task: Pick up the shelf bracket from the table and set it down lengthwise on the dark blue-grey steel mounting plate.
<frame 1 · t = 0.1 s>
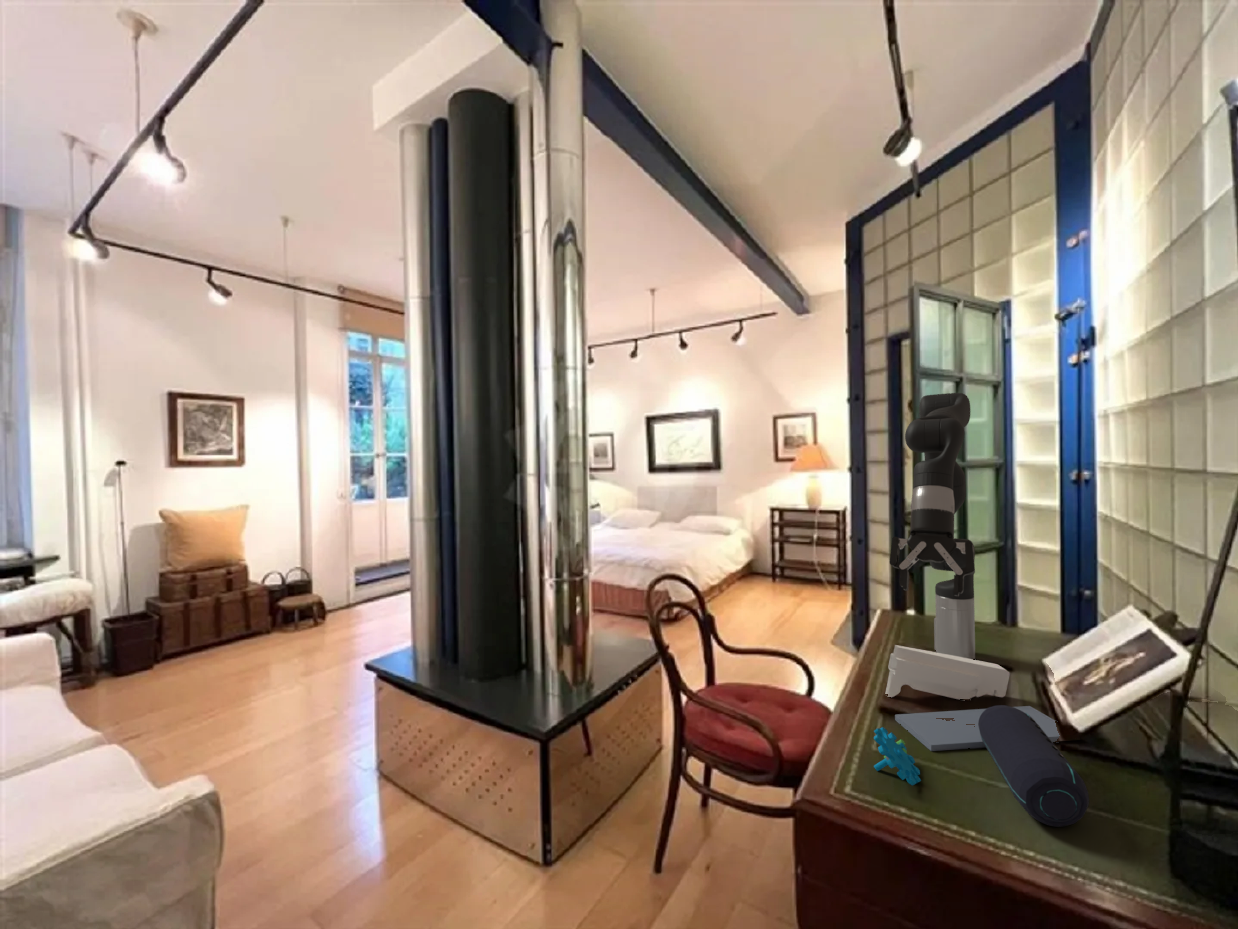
hand: (930, 592, 102), 31 cm above the table, tool tilted 20°, fingers open, 8 cm apart
mounting plate: (983, 730, 110), on the table
portable speaker: (1028, 788, 91), on the table
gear: (897, 775, 96), on the table
shelf bracket: (945, 698, 124), on the table
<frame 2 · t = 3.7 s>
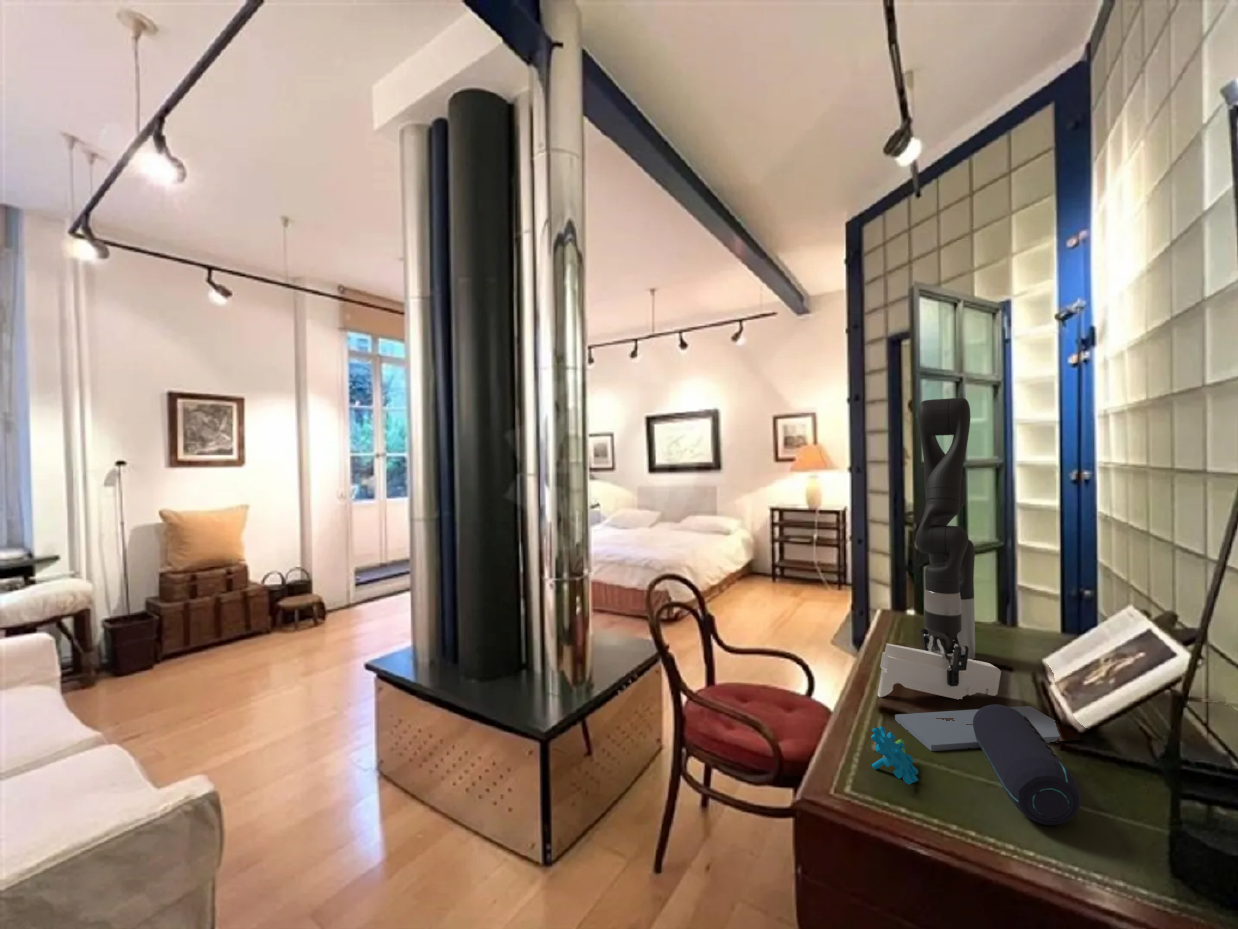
hand: (943, 679, 124), 4 cm above the table, tool pointing down, fingers closed on shelf bracket, 5 cm apart
shelf bracket: (937, 697, 124), on the table, touching gripper
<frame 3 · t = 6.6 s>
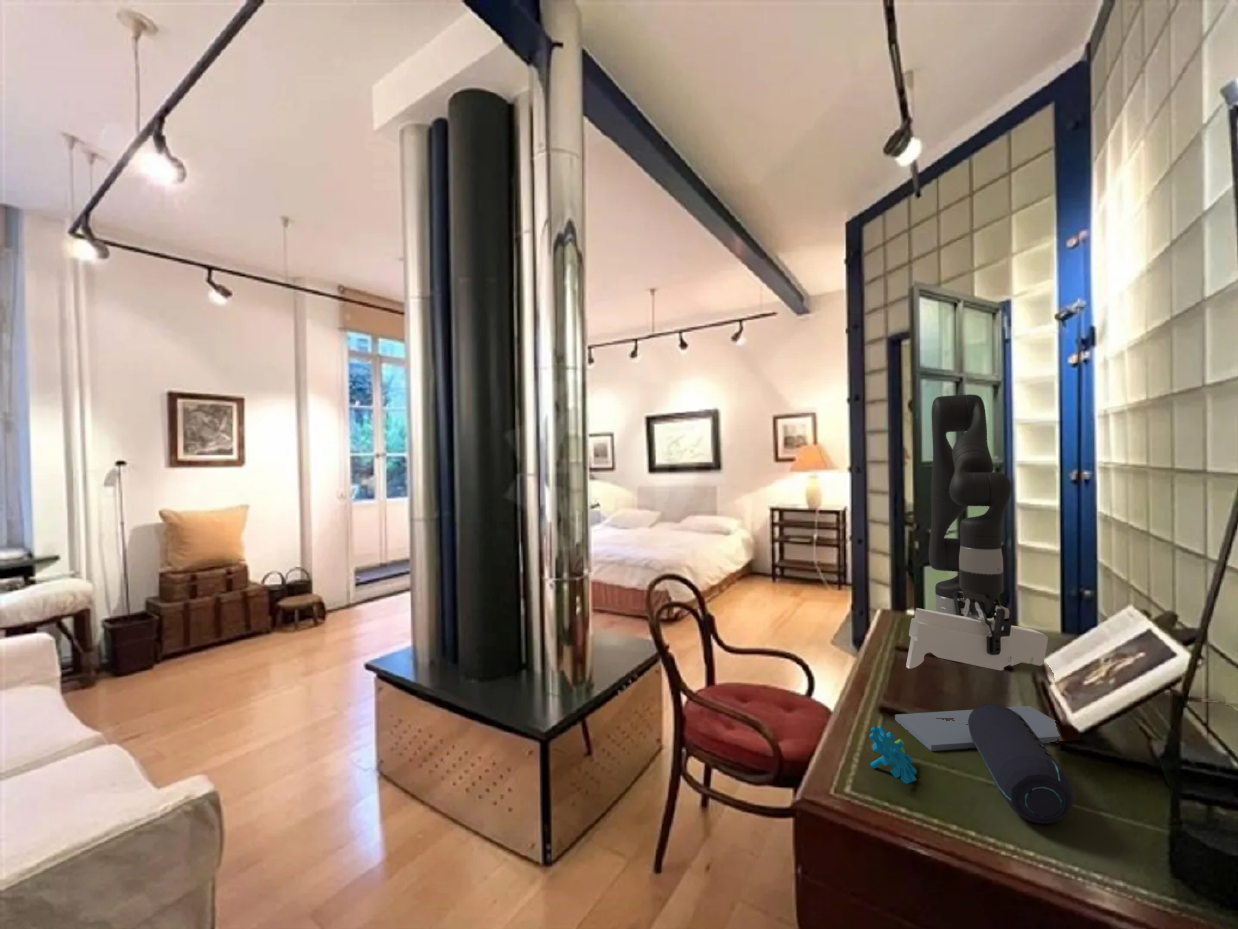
hand: (981, 648, 109), 17 cm above the table, tool pointing down, fingers closed on shelf bracket, 5 cm apart
shelf bracket: (975, 668, 109), point 13 cm above the table, touching gripper
when the fingers open (6 cm above the table, at t = 9.5 s): shelf bracket stays where it is, resting on mounting plate.
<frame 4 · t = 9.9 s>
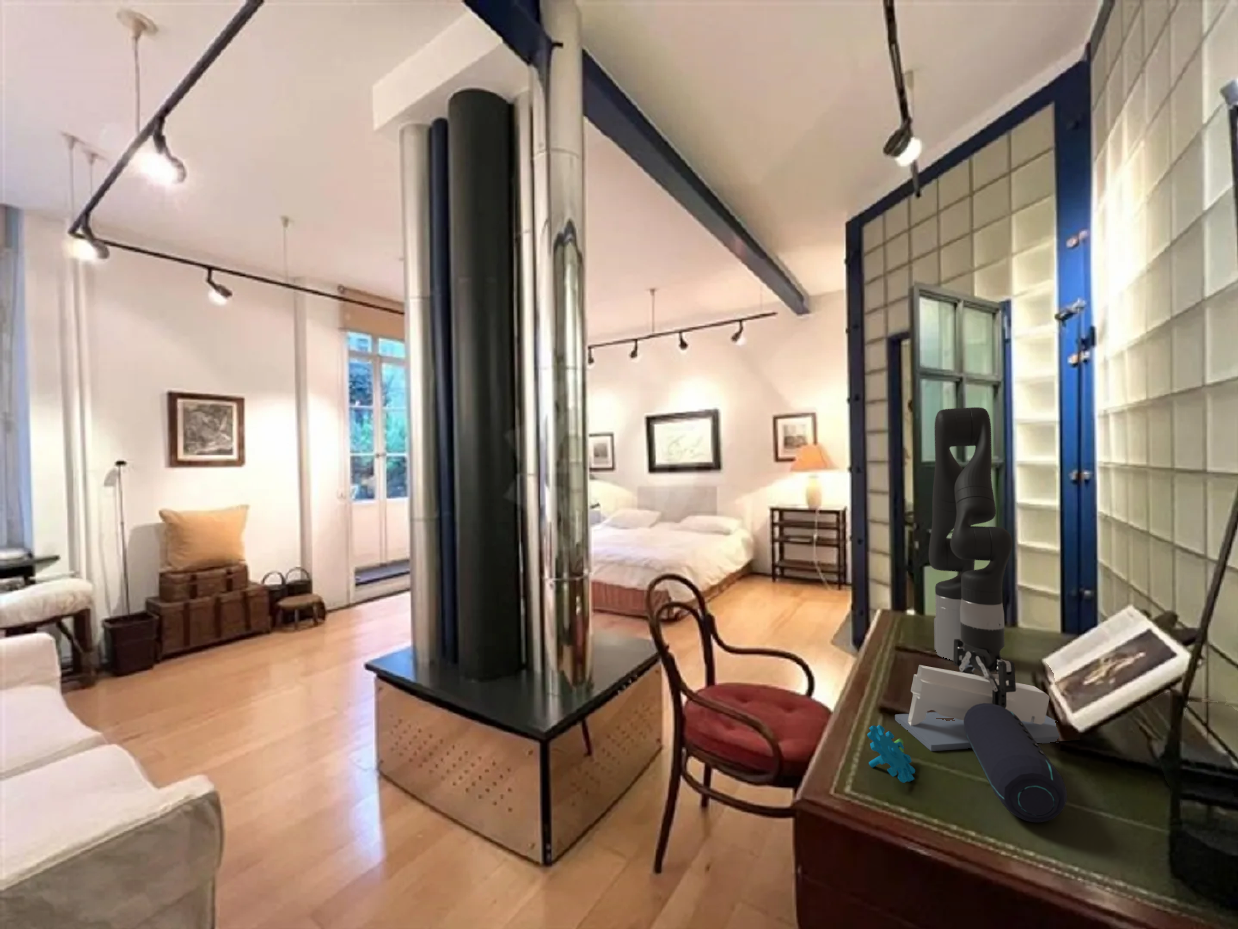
hand: (983, 698, 109), 7 cm above the table, tool pointing down, fingers open, 8 cm apart
shelf bracket: (976, 725, 110), point 1 cm above the table, touching mounting plate
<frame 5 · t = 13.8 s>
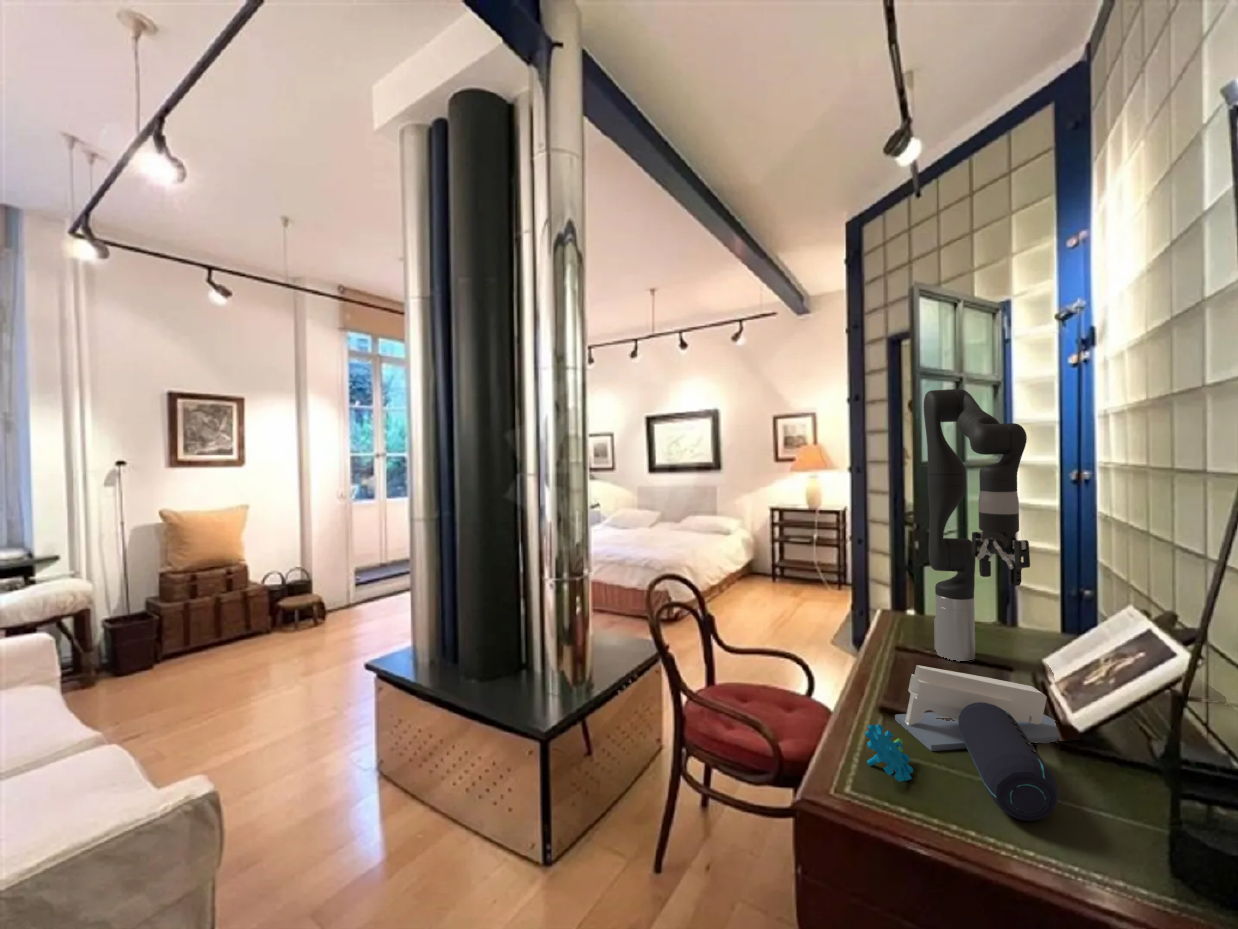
hand: (999, 580, 121), 28 cm above the table, tool pointing down, fingers open, 8 cm apart
at the end: shelf bracket inside the target area on the mounting plate (2.1 cm from its centre), point 1.0 cm above the mounting plate's base; shelf bracket touching mounting plate; the gripper is holding nothing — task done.
